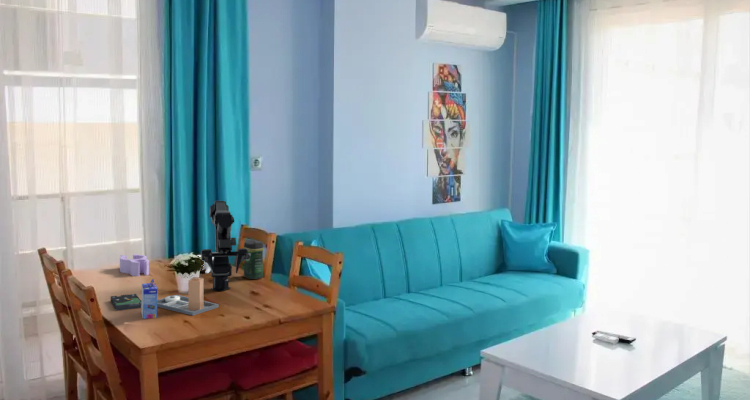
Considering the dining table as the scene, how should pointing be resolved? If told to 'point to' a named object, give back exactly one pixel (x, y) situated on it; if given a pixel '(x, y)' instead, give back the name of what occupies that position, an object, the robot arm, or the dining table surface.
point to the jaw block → (196, 293)
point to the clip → (134, 265)
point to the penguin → (206, 266)
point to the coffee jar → (253, 259)
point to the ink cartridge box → (149, 300)
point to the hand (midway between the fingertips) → (225, 273)
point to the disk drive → (126, 302)
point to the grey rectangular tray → (183, 305)
